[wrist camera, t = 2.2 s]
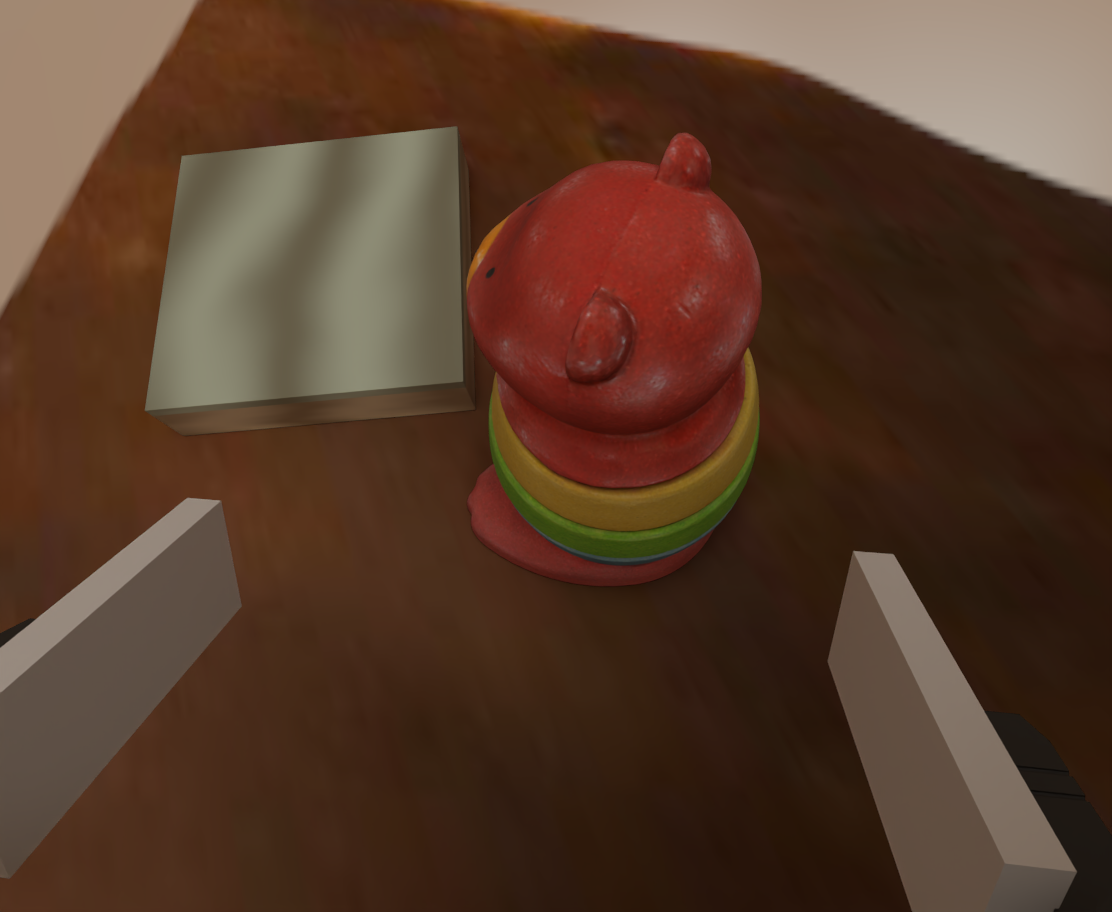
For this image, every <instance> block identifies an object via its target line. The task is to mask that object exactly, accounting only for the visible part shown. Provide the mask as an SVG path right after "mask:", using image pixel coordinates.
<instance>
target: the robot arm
mask: <svg viewBox="0 0 1112 912" xmlns="http://www.w3.org/2000/svg"><path fill="white" fill-rule="evenodd" d="M240 608H241V601H240V595H239V590H238V585H237V580H236V575H235V570H234V565H233V560H232V554H231V549H230V544H229V539H228V534H227V529H226V524H225V519H224V513H223V508H222V503H221V501H218V500H206V499H193V498H187V499H185V500H184V501H183V502H182V503H180V504H179V505H178V506H177V507H175V508H174V509H173V510H172V511H170V512H169V513H168V514H167V515H166V516H164V517H163V518H162V519H161V520H159V521H158V522H157V523H156V524H154V525H153V526H152V527H151V528H149V529H148V530H147V531H146V532H144V533H143V534H142V535H141V536H139V537H138V538H137V539H136V540H134V541H133V542H132V543H131V544H129V545H128V546H127V547H126V548H124V549H123V550H122V551H121V552H119V553H118V554H117V555H116V556H114V557H113V558H112V559H111V560H109V561H108V562H107V563H106V564H104V565H103V566H102V567H101V568H99V569H98V570H97V571H96V572H94V573H93V574H92V575H91V576H89V577H88V578H87V579H86V580H84V581H83V582H82V583H81V584H79V585H78V586H77V587H76V588H74V589H73V590H72V591H71V592H69V593H68V594H67V595H66V596H64V597H63V598H62V599H61V600H59V601H58V602H57V603H56V604H54V605H53V606H52V607H51V608H49V609H48V610H47V611H46V612H44V613H43V614H42V615H41V616H39V617H38V618H37V619H28V620H26V621H24V622H22V623H20V624H18V625H16V626H14V627H12V628H10V629H8V630H6V631H4V632H2V633H0V877H2V878H11V877H12V875H13V874H14V873H15V872H16V871H17V869H18V868H19V867H20V866H21V865H22V864H23V862H24V861H25V860H26V859H27V858H28V857H29V855H30V854H31V853H32V852H33V851H34V849H35V848H36V847H37V846H38V845H39V844H40V842H41V841H42V840H43V839H44V838H45V837H46V835H47V834H48V833H49V832H50V831H51V830H52V828H53V827H54V826H55V825H56V824H57V822H58V821H59V820H60V819H61V818H62V817H63V815H64V814H65V813H66V812H67V811H68V810H69V808H70V807H71V806H72V805H73V804H74V803H75V801H76V800H77V799H78V798H79V797H80V795H81V794H82V793H83V792H84V791H85V790H86V788H87V787H88V786H89V785H90V784H91V783H92V781H93V780H94V779H95V778H96V777H97V775H98V774H99V773H100V772H101V771H102V770H103V768H104V767H105V766H106V765H107V764H108V763H109V761H110V760H111V759H112V758H113V757H114V756H115V754H116V753H117V752H118V751H119V750H120V748H121V747H122V746H123V745H124V744H125V743H126V741H127V740H128V739H129V738H130V737H131V736H132V734H133V733H134V732H135V731H136V730H137V729H138V727H139V726H140V725H141V724H142V723H143V721H144V720H145V719H146V718H147V717H148V716H149V714H150V713H151V712H152V711H153V710H154V709H155V707H156V706H157V705H158V704H159V703H160V701H161V700H162V699H163V698H164V697H165V696H166V694H167V693H168V692H169V691H170V690H171V689H172V687H173V686H174V685H175V684H176V683H177V682H178V680H179V679H180V678H181V677H182V676H183V674H184V673H185V672H186V671H187V670H188V669H189V667H190V666H191V665H192V664H193V663H194V662H195V660H196V659H197V658H198V657H199V656H200V654H201V653H202V652H203V651H204V650H205V649H206V647H207V646H208V645H209V644H210V643H211V642H212V640H213V639H214V638H215V637H216V636H217V635H218V633H219V632H220V631H221V630H222V629H223V627H224V626H225V625H226V624H227V623H228V622H229V620H230V619H231V618H232V617H233V616H234V615H235V613H236V612H237V611H238V610H239V609H240ZM828 664H829V667H830V670H831V673H832V676H833V679H834V682H835V685H836V688H837V691H838V694H839V696H840V699H841V702H842V705H843V708H844V711H845V714H846V717H847V720H848V723H849V726H850V729H851V732H852V735H853V738H854V741H855V744H856V747H857V750H858V753H859V756H860V759H861V762H862V765H863V768H864V771H865V773H866V776H867V779H868V782H869V785H870V788H871V791H872V794H873V797H874V800H875V803H876V806H877V809H878V812H879V815H880V818H881V821H882V824H883V827H884V830H885V833H886V836H887V839H888V842H889V845H890V848H891V851H892V853H893V856H894V859H895V862H896V865H897V868H898V871H899V874H900V877H901V880H902V883H903V886H904V889H905V892H906V895H907V898H908V901H909V904H910V907H911V910H912V912H1112V836H1111V834H1110V833H1109V831H1108V830H1107V828H1106V827H1105V825H1104V823H1103V822H1102V820H1101V819H1100V817H1099V816H1098V814H1097V813H1096V811H1095V810H1094V808H1093V807H1092V805H1091V804H1090V802H1086V800H1085V795H1084V793H1083V791H1082V790H1081V788H1080V787H1079V785H1078V784H1077V782H1076V781H1075V779H1074V778H1073V777H1070V776H1069V770H1068V769H1067V767H1066V766H1065V764H1064V762H1063V761H1062V759H1061V758H1060V756H1059V755H1058V753H1057V752H1056V750H1055V749H1054V747H1053V746H1052V744H1051V743H1050V741H1049V740H1048V739H1046V738H1045V737H1044V736H1043V735H1042V734H1041V733H1040V732H1038V731H1037V730H1036V729H1035V728H1034V727H1033V726H1032V725H1031V724H1029V723H1028V722H1027V721H1026V720H1025V719H1024V718H1023V717H1021V716H1020V715H1019V714H1011V713H1001V712H991V711H984V710H983V708H982V707H981V705H980V703H979V701H978V700H977V698H976V696H975V695H974V693H973V691H972V689H971V688H970V686H969V684H968V682H967V681H966V679H965V677H964V675H963V674H962V672H961V670H960V669H959V667H958V665H957V663H956V662H955V660H954V658H953V656H952V655H951V653H950V651H949V649H948V648H947V646H946V644H945V643H944V641H943V639H942V637H941V636H940V634H939V632H938V630H937V629H936V627H935V625H934V624H933V622H932V620H931V618H930V617H929V615H928V613H927V611H926V610H925V608H924V606H923V604H922V603H921V601H920V599H919V598H918V596H917V594H916V592H915V591H914V589H913V587H912V585H911V584H910V582H909V580H908V578H907V577H906V575H905V573H904V572H903V570H902V568H901V566H900V565H899V563H898V561H897V559H896V558H895V556H894V554H883V553H871V552H858V551H853V554H852V558H851V563H850V567H849V571H848V576H847V580H846V584H845V589H844V593H843V597H842V602H841V606H840V610H839V615H838V619H837V623H836V628H835V632H834V636H833V641H832V645H831V649H830V654H829V658H828Z"/></svg>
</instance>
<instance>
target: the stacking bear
mask: <svg viewBox="0 0 1112 912" xmlns="http://www.w3.org/2000/svg"><path fill="white" fill-rule="evenodd" d="M710 177H711V161H710V157H709V155H708V153H707V151H706V149H705V147H704V146H703V145H702V144H701V143H700V142H699V141H698V140H697V139H696V138H695V137H693V136H692V135H690V134H688V133H678V134H676V135H675V136H674V137H673V139H672V140H671V142H670V144H669V146H668V148H667V150H666V152H665V154H664V157H663V159H662V161H661V164H660V166H658V165H654V164H649V163H643V162H638V161H609V162H604V163H598V164H592V165H589V166H587V167H584V168H582V169H579V170H577V171H575V172H573V173H572V174H570V175H568V176H567V177H565V178H564V179H562V180H561V181H559V182H558V183H556V184H555V185H554V186H552V187H550V188H549V189H547V190H546V191H544V192H542V193H540V194H539V195H537V196H535V197H534V198H532V199H530V200H529V201H527V202H526V203H524V204H522V205H521V206H520V207H519V208H518V209H516V210H515V211H514V212H513V213H512V214H510V215H509V216H508V217H507V218H506V219H504V220H503V221H502V222H501V223H500V224H498V225H497V226H496V227H495V228H494V229H493V230H492V231H491V232H490V233H489V234H488V235H487V236H486V237H485V238H484V239H483V241H482V243H481V245H480V247H479V248H478V249H477V250H476V252H475V256H474V258H473V260H472V264H471V266H470V269H469V273H468V277H467V284H466V289H467V312H468V318H469V324H470V326H471V329H472V332H473V335H474V338H475V340H476V342H477V344H478V346H479V348H480V350H481V351H482V353H483V354H484V356H485V358H486V359H487V360H488V362H489V363H490V364H491V366H492V367H493V368H494V370H495V371H496V373H495V378H494V383H493V390H492V395H491V400H490V406H489V440H490V449H491V454H492V459H493V463H494V464H492V465H491V466H489V467H488V468H487V469H486V470H485V471H484V472H483V473H481V474H480V476H479V477H478V479H477V482H476V486H475V488H474V489H473V490H472V492H471V493H470V495H469V497H468V500H467V507H468V510H469V512H470V513H471V514H472V517H471V527H472V530H473V532H474V534H475V535H476V537H477V538H478V539H479V540H480V541H481V542H482V543H483V544H484V545H485V546H487V547H488V548H490V549H491V550H492V551H494V552H495V553H497V554H498V555H500V556H501V557H503V558H505V559H506V560H508V561H510V562H512V563H514V564H516V565H518V566H520V567H522V568H524V569H527V570H529V571H532V572H534V573H536V574H539V575H542V576H545V577H549V578H552V579H555V580H559V581H564V582H568V583H574V584H581V585H590V586H624V585H634V584H641V583H646V582H650V581H653V580H656V579H659V578H661V577H664V576H666V575H668V574H670V573H672V572H674V571H676V570H677V569H679V568H681V567H682V566H683V565H685V564H686V563H687V562H688V561H690V560H691V559H692V558H693V557H694V556H695V555H696V554H697V553H698V552H699V551H700V550H701V549H702V547H703V546H704V545H705V543H706V542H707V540H708V539H709V537H710V536H711V534H712V532H713V530H714V528H715V527H716V526H717V525H718V524H719V523H720V522H721V521H722V520H723V519H724V518H725V516H726V515H727V514H728V512H729V511H730V510H731V509H732V507H733V506H734V504H735V503H736V501H737V499H738V498H739V496H740V494H741V492H742V490H743V488H744V486H745V484H746V483H747V480H748V477H749V475H750V472H751V469H752V466H753V463H754V459H755V455H756V450H757V444H758V437H759V418H760V416H759V393H758V383H757V376H756V371H755V366H754V362H753V359H752V355H751V353H750V350H749V348H748V347H749V345H750V343H751V340H752V338H753V335H754V332H755V329H756V327H757V323H758V319H759V314H760V309H761V299H762V290H761V274H760V268H759V264H758V261H757V257H756V254H755V251H754V249H753V246H752V244H751V241H750V239H749V237H748V235H747V233H746V232H745V230H744V228H743V226H742V225H741V223H740V221H739V220H738V218H737V217H736V215H735V214H734V213H733V212H732V211H731V209H730V208H729V207H728V206H727V205H726V204H725V203H724V202H723V201H722V200H721V199H720V198H719V197H718V196H717V195H716V194H714V193H713V191H712V190H711V189H710V188H709V182H710Z"/></svg>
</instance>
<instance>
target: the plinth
mask: <svg viewBox="0 0 1112 912" xmlns="http://www.w3.org/2000/svg"><path fill="white" fill-rule="evenodd" d="M470 266H471V234H470V200H469V169H468V166H467V162H466V158H465V154H464V150H463V146H462V143H461V139H460V135H459V131H458V127H448V128H439V129H429V130H420V131H411V132H401V133H392V134H383V135H374V136H364V137H355V138H346V139H337V140H327V141H318V142H309V143H299V144H290V145H281V146H272V147H262V148H253V149H244V150H234V151H225V152H216V153H207V154H197V155H188V156H182V159H181V166H180V173H179V180H178V187H177V194H176V200H175V207H174V214H173V221H172V228H171V235H170V242H169V249H168V255H167V262H166V269H165V276H164V283H163V290H162V297H161V304H160V310H159V317H158V324H157V331H156V338H155V345H154V352H153V359H152V365H151V372H150V379H149V386H148V393H147V400H146V407H145V411H146V412H148V413H149V414H151V415H152V416H154V417H155V418H157V419H158V420H160V421H161V422H163V423H164V424H166V425H167V426H169V427H171V428H172V429H174V430H175V431H177V432H178V433H180V434H181V435H183V436H189V435H200V434H211V433H222V432H234V431H245V430H256V429H267V428H278V427H289V426H300V425H312V424H323V423H334V422H345V421H356V420H367V419H378V418H389V417H401V416H412V415H423V414H434V413H445V412H456V411H467V410H476V406H475V372H474V337H473V332H472V329H471V326H470V324H469V318H468V312H467V289H466V284H467V277H468V273H469V269H470Z"/></svg>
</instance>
